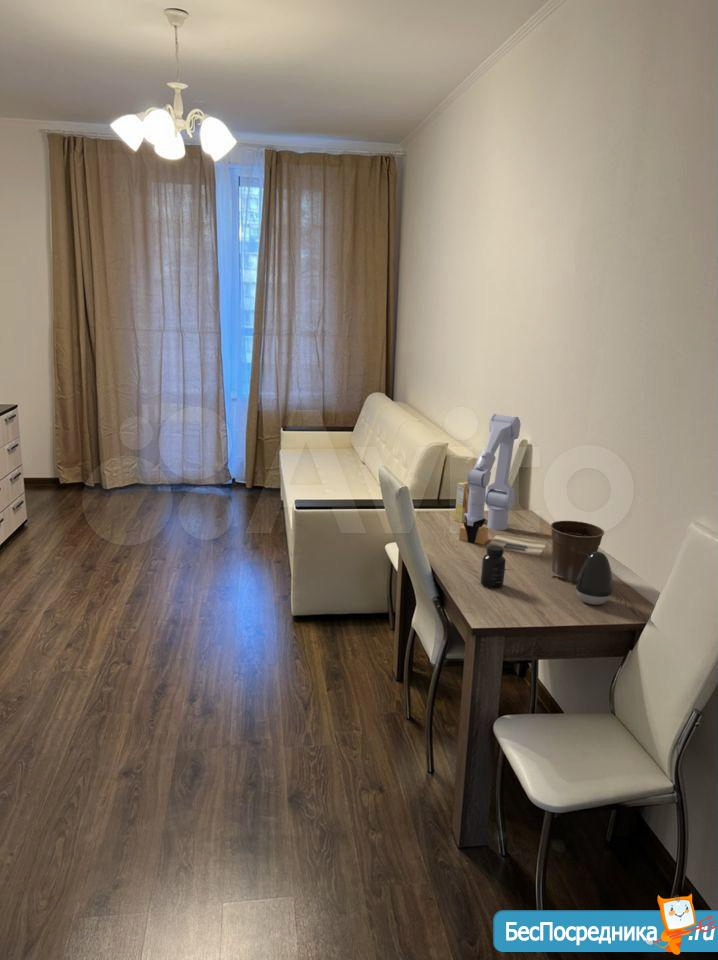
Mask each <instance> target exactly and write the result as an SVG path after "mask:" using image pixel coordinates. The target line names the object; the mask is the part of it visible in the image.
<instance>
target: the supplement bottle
mask: <svg viewBox="0 0 718 960" xmlns="http://www.w3.org/2000/svg"><path fill="white" fill-rule="evenodd" d="M487 546H488V545H487ZM487 546H486V554H484V556H483V557H482V561H481V563H482V564H481V574H480V584H482V585H483V586H482V585H481V586H482V587H484V586H485V587H484V588H486V587H488V588H487V589H490V588H499V589H501V588H503V587H504V583H505V582H504V581H505V580H504V579H505V573H506V572H505V570H506V558H505V557H504V550H503V548H502V547H500V546H496V545H491V546H488V547H487ZM500 587H501V588H500Z"/></svg>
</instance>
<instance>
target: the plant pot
mask: <svg viewBox="0 0 718 960" xmlns="http://www.w3.org/2000/svg"><path fill="white" fill-rule="evenodd" d="M550 528H551V539H552V543H551V545H552V551H551V553H552V554H551V555H552V556H551V571H552V573H553V574H555V575H553V577H554V578H557V579H558V580H559V581H562V582H566V583H570V582H571V583H570V584H576V581H577V577H578V574H579V571H580V569H581V567H582V565H583V563H584V561H585V560H586V559H585V558H584V557H582V556H581V555H580V554H579V552H580V551H582V552H584V553H586V554H588V555H590V554H591V553H592V552H596V551H598V550H599V546H600V545H601V542H602V538H603V536H604V535H605V530H604V529H603V528H602V527H599V526H597V525H595V524H592V523H588V522H583V521H577V520H557V521H553V522H552V523H551V524H550ZM598 552H599V551H598Z"/></svg>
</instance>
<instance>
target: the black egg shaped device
mask: <svg viewBox="0 0 718 960" xmlns="http://www.w3.org/2000/svg"><path fill="white" fill-rule="evenodd" d="M579 554H580V555H581V556H582V557H584V558H585V559H586V560H585V561H584V563H583V565H582V567H581V569H580V571H579V574H578V577H577V581H576V583H575V589H576V593H577V596H578V598H579V599H580V600H581V601H582V602H583V603H585V604H587V605H591V604H593V605H592V606H595V605H596V606H599V605H602V604H605V603H607V602H608V600H610V597H611V595H612V594H613V589H614V587H613V582H614V580H613V573H612V567H611V564H610V561H609V558H608V557H607V556H606V555H607V554H605V553H603V552H601V551H596V552H592V553H591V554H590V555H588V554H586V553H584V552H582V551H580V552H579Z"/></svg>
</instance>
